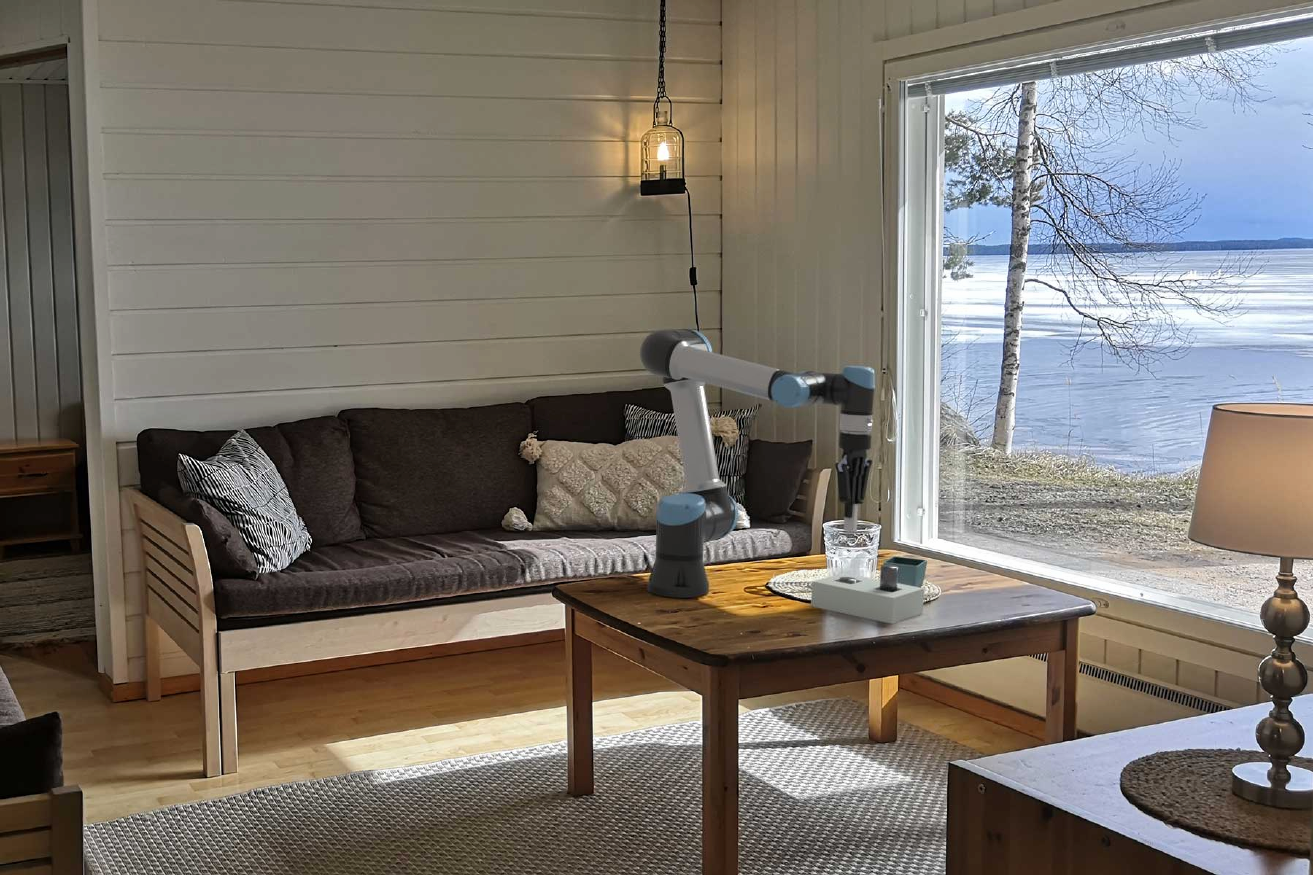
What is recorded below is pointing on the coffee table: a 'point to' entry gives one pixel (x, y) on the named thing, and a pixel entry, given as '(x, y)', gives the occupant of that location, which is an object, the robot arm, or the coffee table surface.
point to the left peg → (847, 580)
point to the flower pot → (909, 570)
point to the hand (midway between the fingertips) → (850, 530)
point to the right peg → (888, 578)
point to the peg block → (867, 598)
